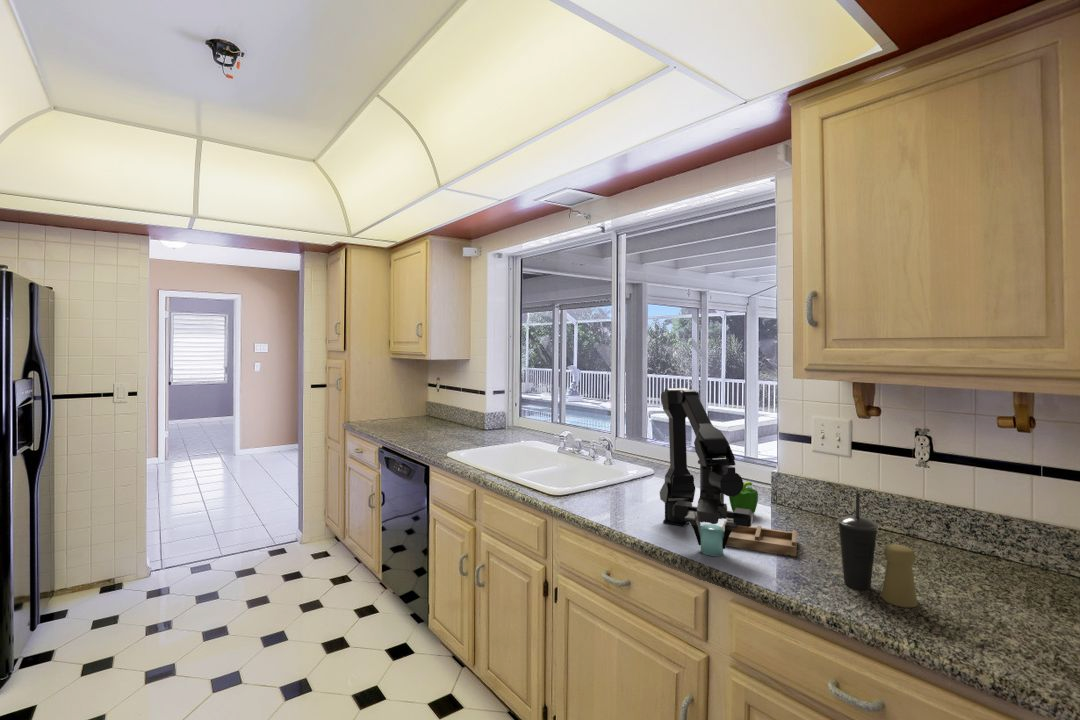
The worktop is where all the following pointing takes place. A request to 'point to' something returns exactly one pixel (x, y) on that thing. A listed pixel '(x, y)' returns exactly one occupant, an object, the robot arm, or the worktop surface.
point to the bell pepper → (745, 499)
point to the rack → (763, 539)
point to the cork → (899, 576)
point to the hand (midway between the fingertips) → (711, 546)
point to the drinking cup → (857, 548)
